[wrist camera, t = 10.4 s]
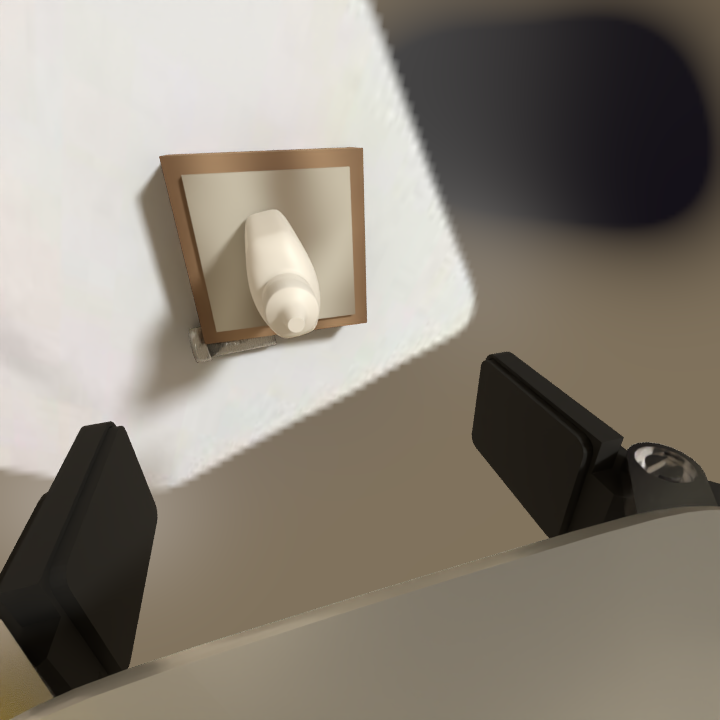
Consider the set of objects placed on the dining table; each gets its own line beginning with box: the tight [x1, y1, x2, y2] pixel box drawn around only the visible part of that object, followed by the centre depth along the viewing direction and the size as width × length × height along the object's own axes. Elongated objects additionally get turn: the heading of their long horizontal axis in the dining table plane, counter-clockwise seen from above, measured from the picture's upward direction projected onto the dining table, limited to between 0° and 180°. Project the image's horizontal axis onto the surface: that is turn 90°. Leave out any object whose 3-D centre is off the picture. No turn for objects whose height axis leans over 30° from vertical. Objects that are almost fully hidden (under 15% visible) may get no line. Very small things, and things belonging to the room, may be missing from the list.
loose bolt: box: [189, 327, 276, 363], centre depth 31 cm, size 6×3×3 cm
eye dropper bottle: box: [245, 209, 320, 338], centre depth 21 cm, size 4×6×12 cm
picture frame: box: [159, 147, 367, 344], centre depth 28 cm, size 12×12×3 cm
